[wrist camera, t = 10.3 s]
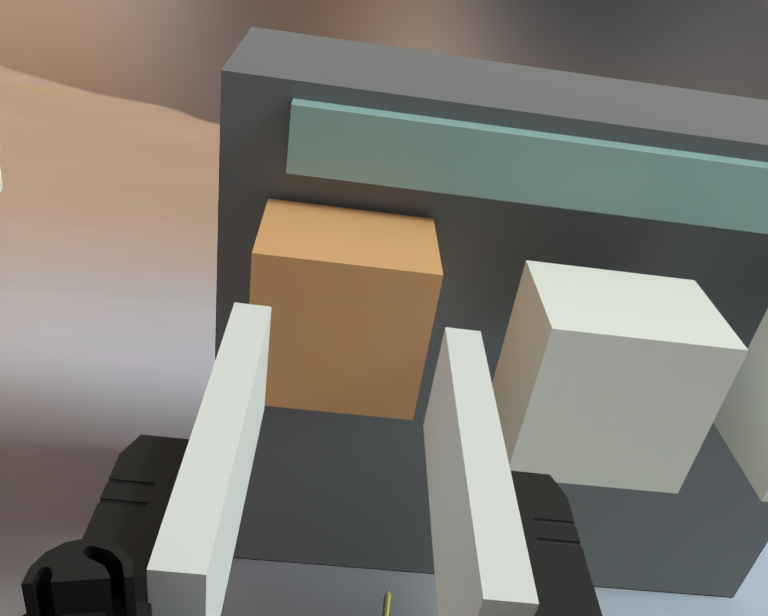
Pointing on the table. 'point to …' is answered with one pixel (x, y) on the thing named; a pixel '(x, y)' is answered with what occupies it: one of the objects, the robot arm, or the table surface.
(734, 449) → the white key
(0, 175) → the white cup
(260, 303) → the key prompted
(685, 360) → the key middle
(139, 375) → the table surface
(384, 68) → the keypad console
